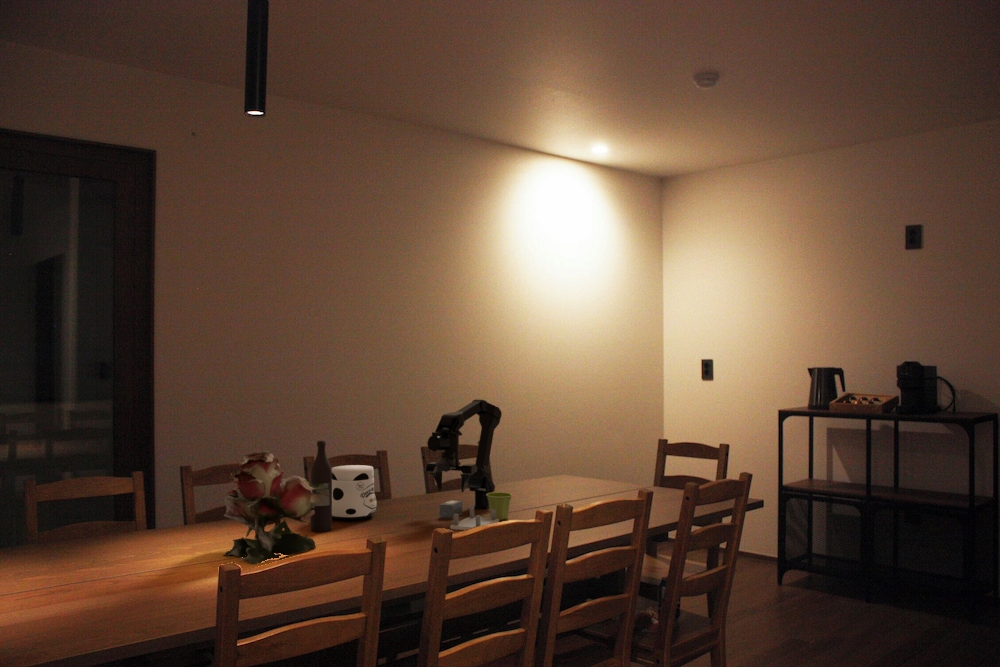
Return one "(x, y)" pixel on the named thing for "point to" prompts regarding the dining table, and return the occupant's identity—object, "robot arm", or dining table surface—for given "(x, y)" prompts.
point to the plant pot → (499, 504)
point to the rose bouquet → (268, 508)
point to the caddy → (473, 520)
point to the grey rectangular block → (450, 509)
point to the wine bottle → (321, 491)
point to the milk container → (353, 492)
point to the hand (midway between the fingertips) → (451, 491)
